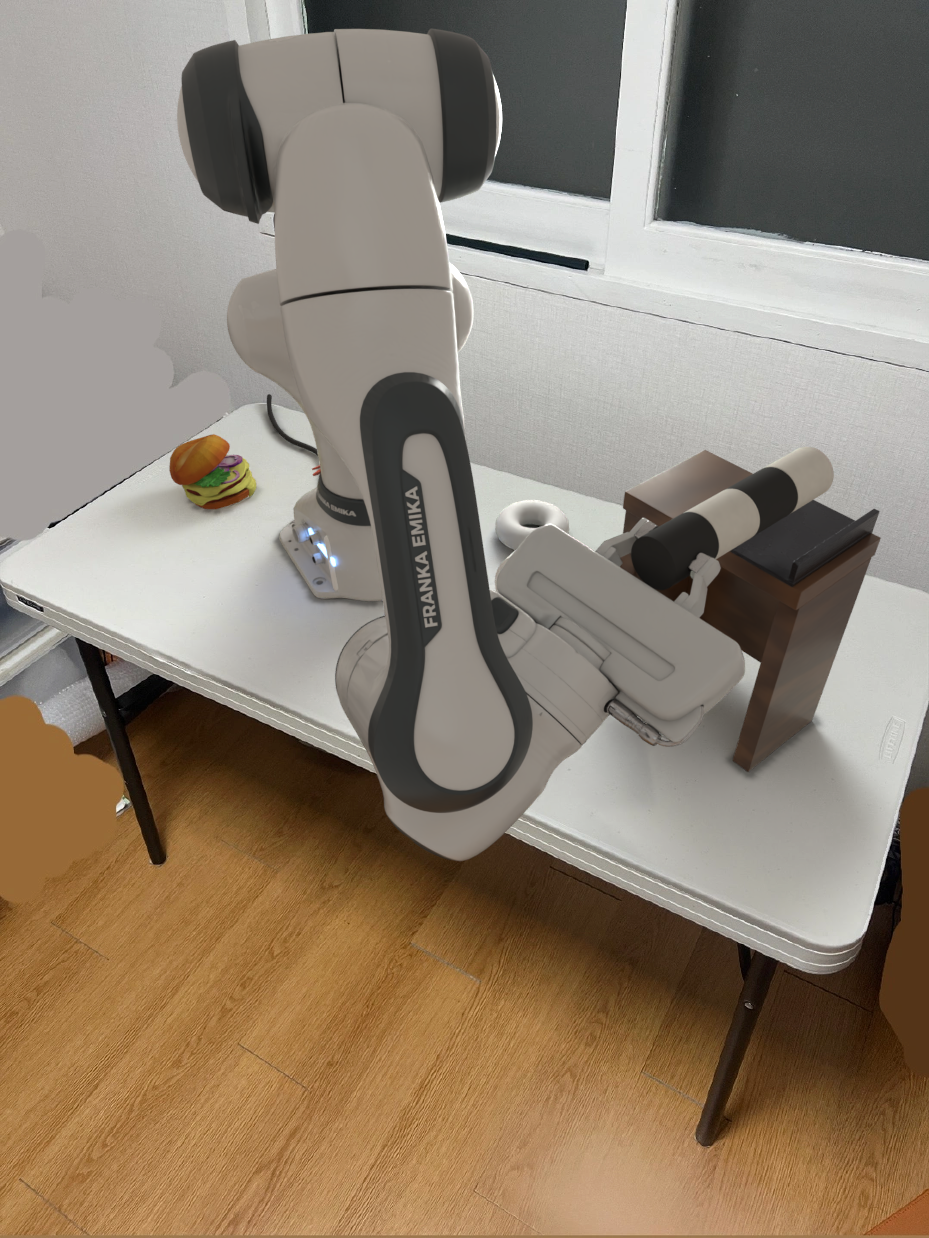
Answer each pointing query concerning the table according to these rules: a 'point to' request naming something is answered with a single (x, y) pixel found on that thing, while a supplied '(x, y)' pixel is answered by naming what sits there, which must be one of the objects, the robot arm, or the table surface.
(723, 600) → the shelf
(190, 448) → the cheeseburger
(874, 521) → the tray
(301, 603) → the table surface
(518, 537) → the donut
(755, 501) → the roll
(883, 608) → the table surface
